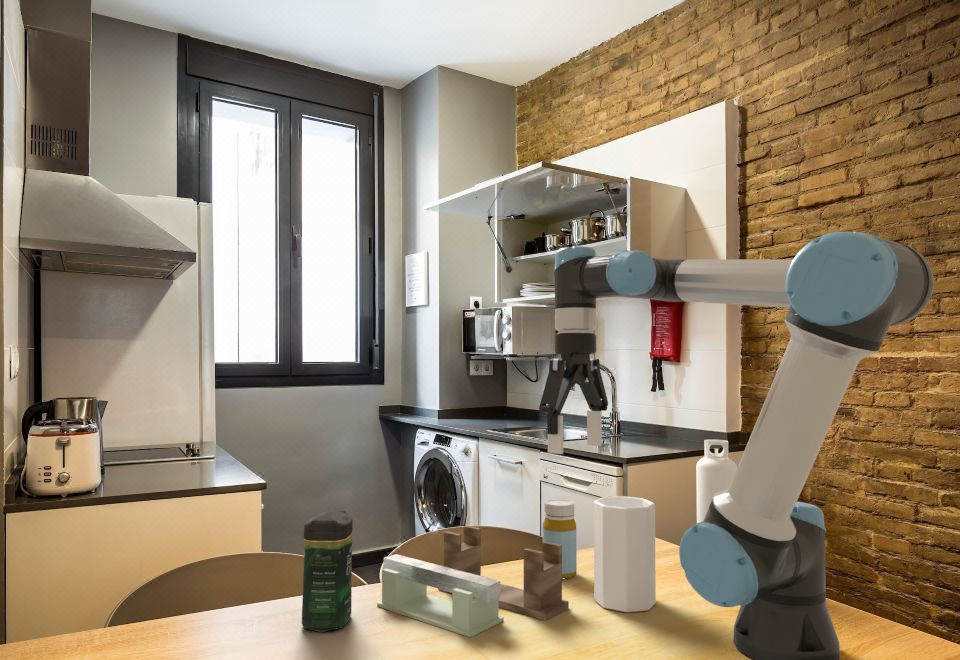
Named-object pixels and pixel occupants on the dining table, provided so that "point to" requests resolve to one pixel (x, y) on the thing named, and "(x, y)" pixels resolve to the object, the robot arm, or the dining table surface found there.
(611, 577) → the cup
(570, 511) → the bottle
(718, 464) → the bottle
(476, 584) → the rail
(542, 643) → the dining table surface
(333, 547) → the coffee jar
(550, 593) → the rack
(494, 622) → the rest
